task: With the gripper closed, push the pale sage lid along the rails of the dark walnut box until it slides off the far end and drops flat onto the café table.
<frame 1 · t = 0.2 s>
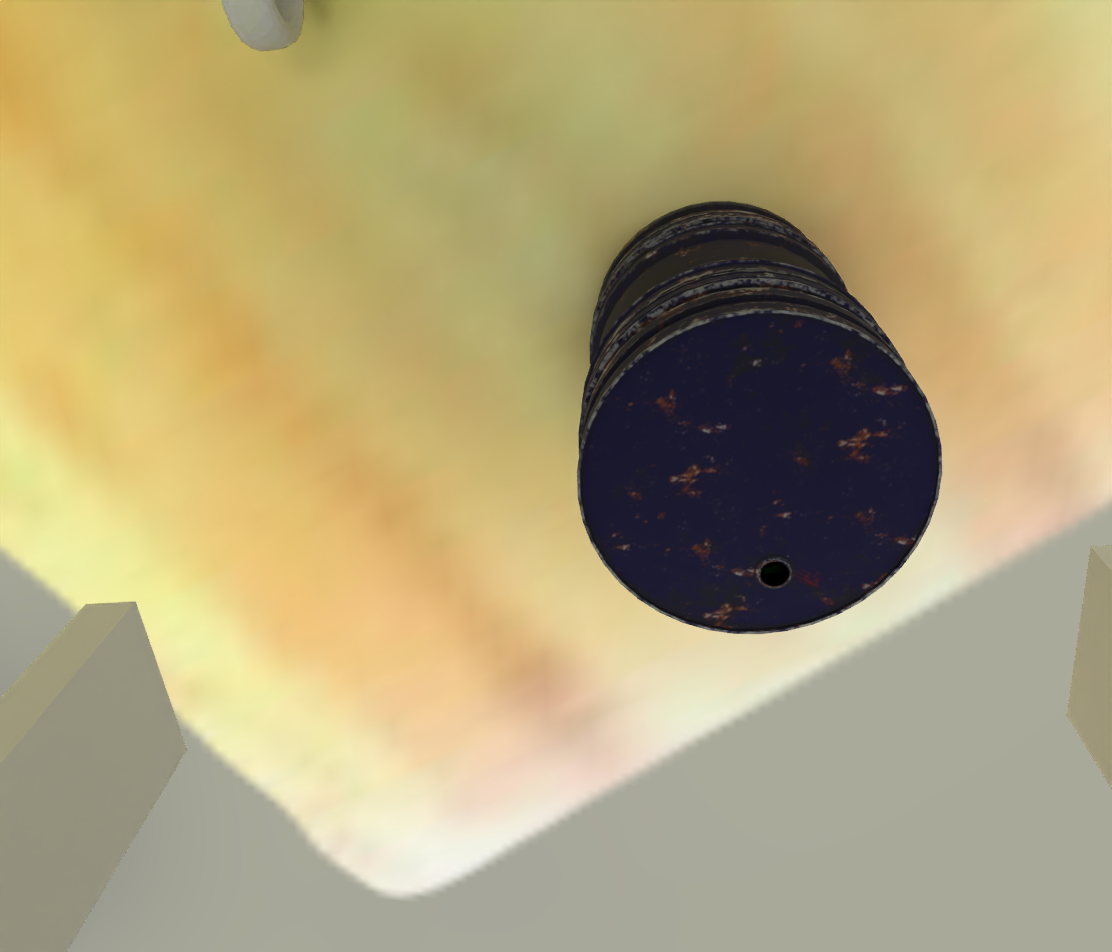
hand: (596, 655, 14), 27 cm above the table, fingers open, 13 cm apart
dark blue barrel: (714, 321, 40), on the table
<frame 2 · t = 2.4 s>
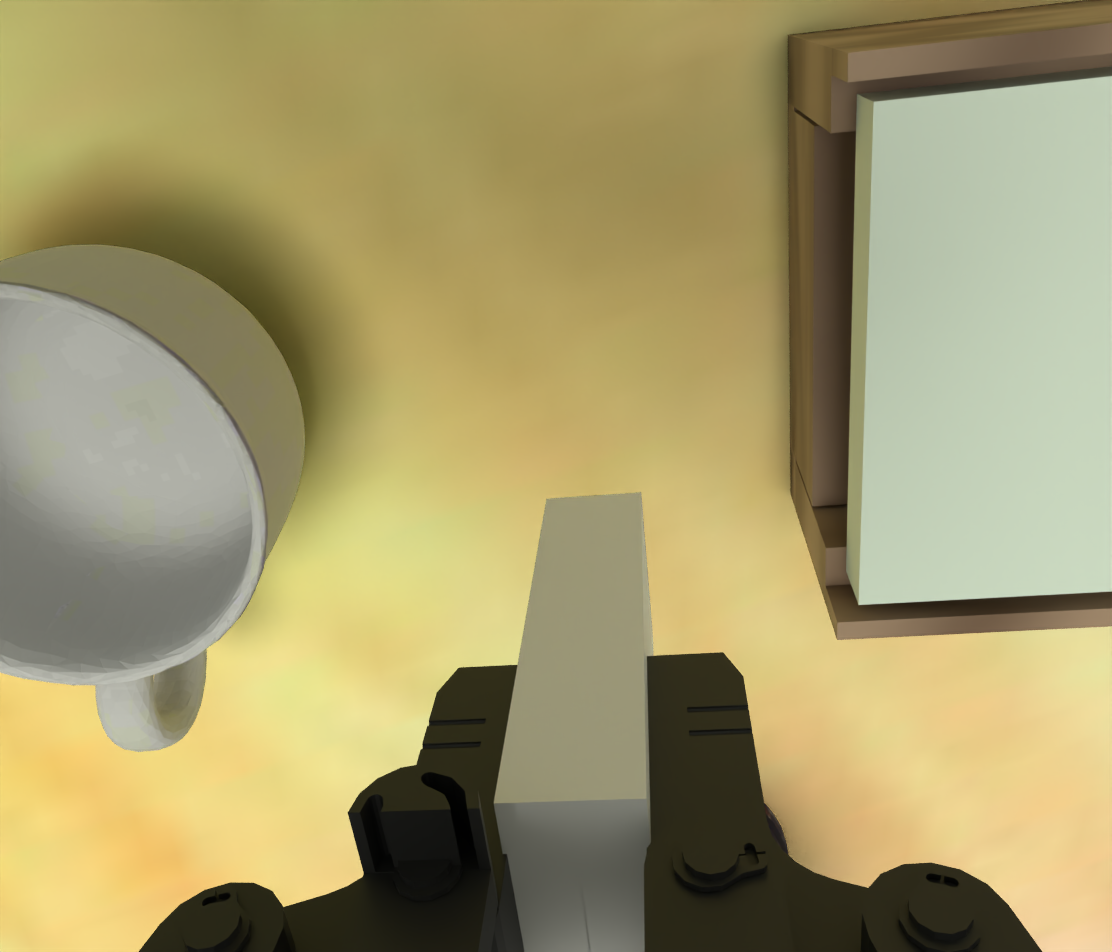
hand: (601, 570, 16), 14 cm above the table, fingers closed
dark blue barrel: (660, 854, 38), on the table
teacup: (178, 432, 31), on the table
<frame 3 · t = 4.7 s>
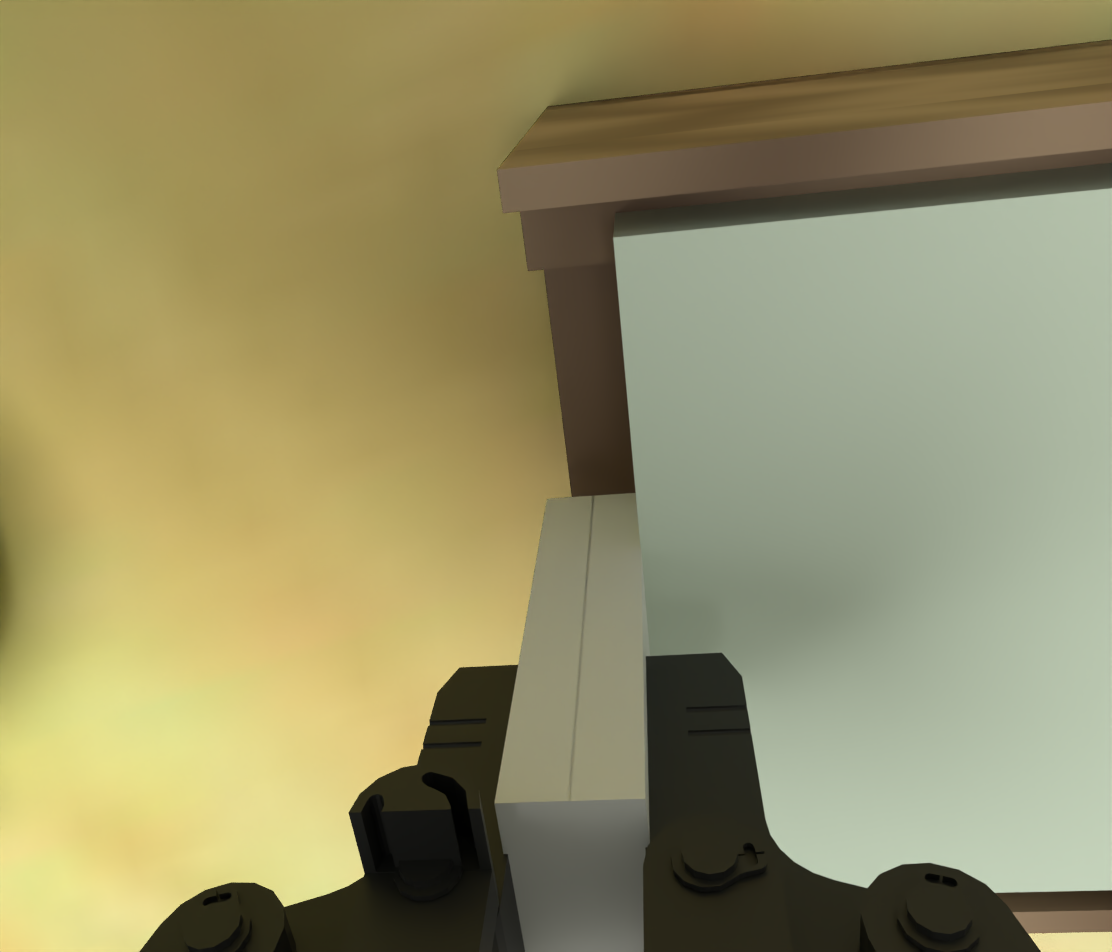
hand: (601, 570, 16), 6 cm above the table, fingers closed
box: (1021, 391, 20), on the table
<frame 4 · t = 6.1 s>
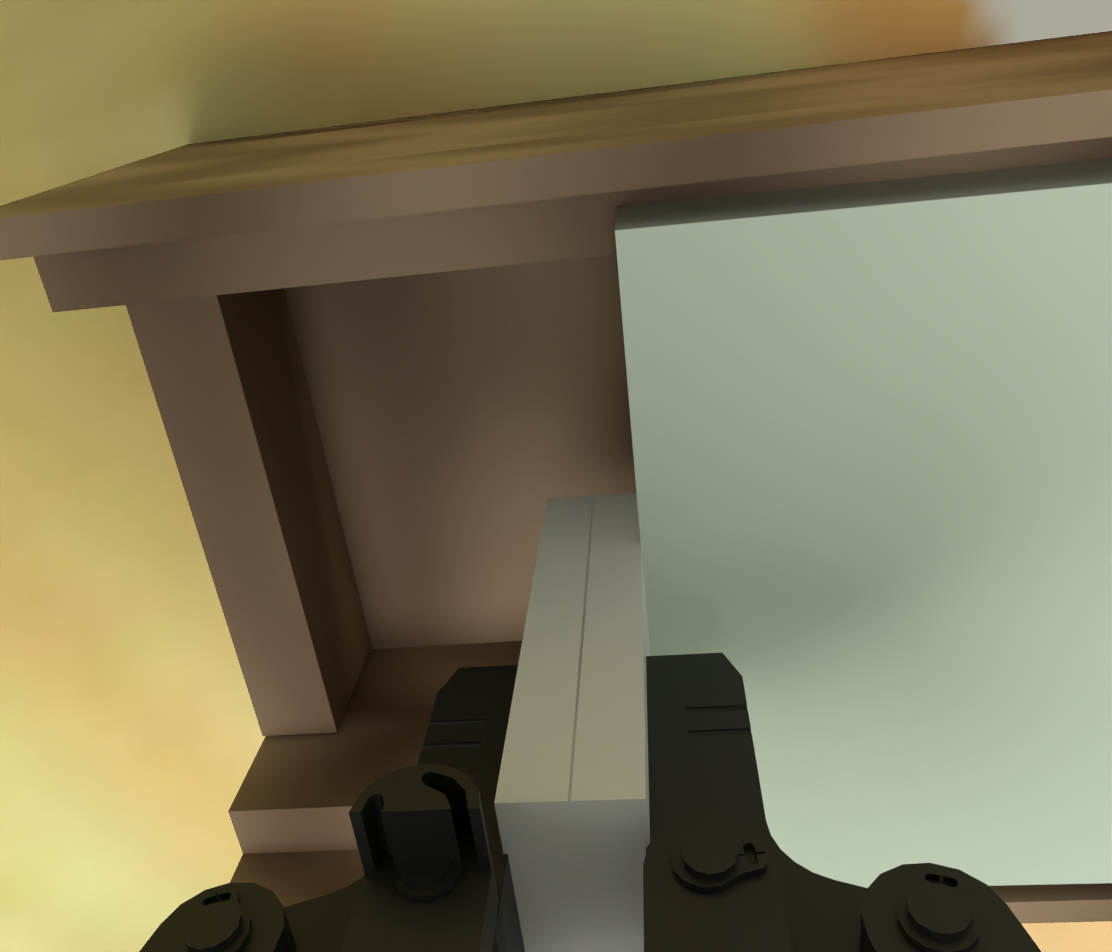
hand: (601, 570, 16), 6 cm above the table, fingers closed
box: (674, 412, 21), on the table
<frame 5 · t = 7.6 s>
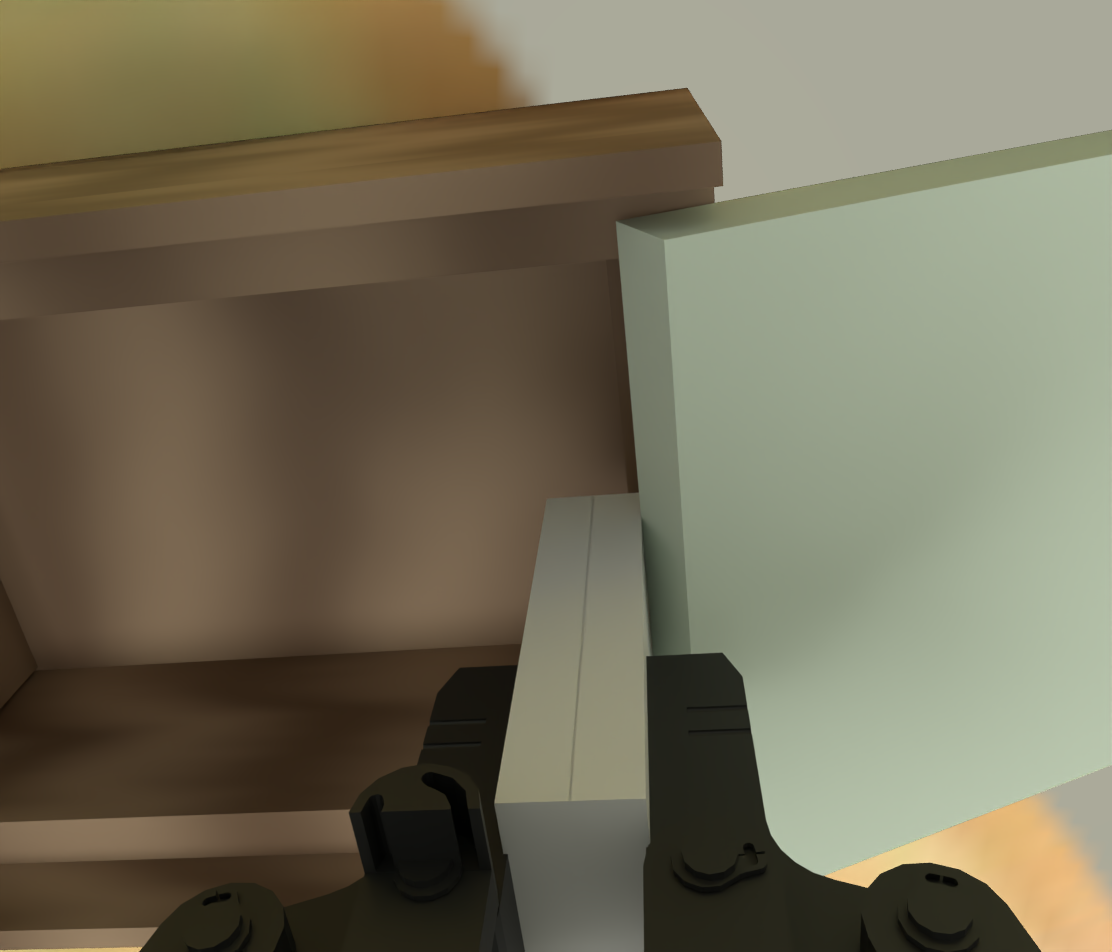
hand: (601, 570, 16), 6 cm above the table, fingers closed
box: (297, 447, 22), on the table
lid: (1092, 461, 17), point 3 cm above the table, tilted 23°
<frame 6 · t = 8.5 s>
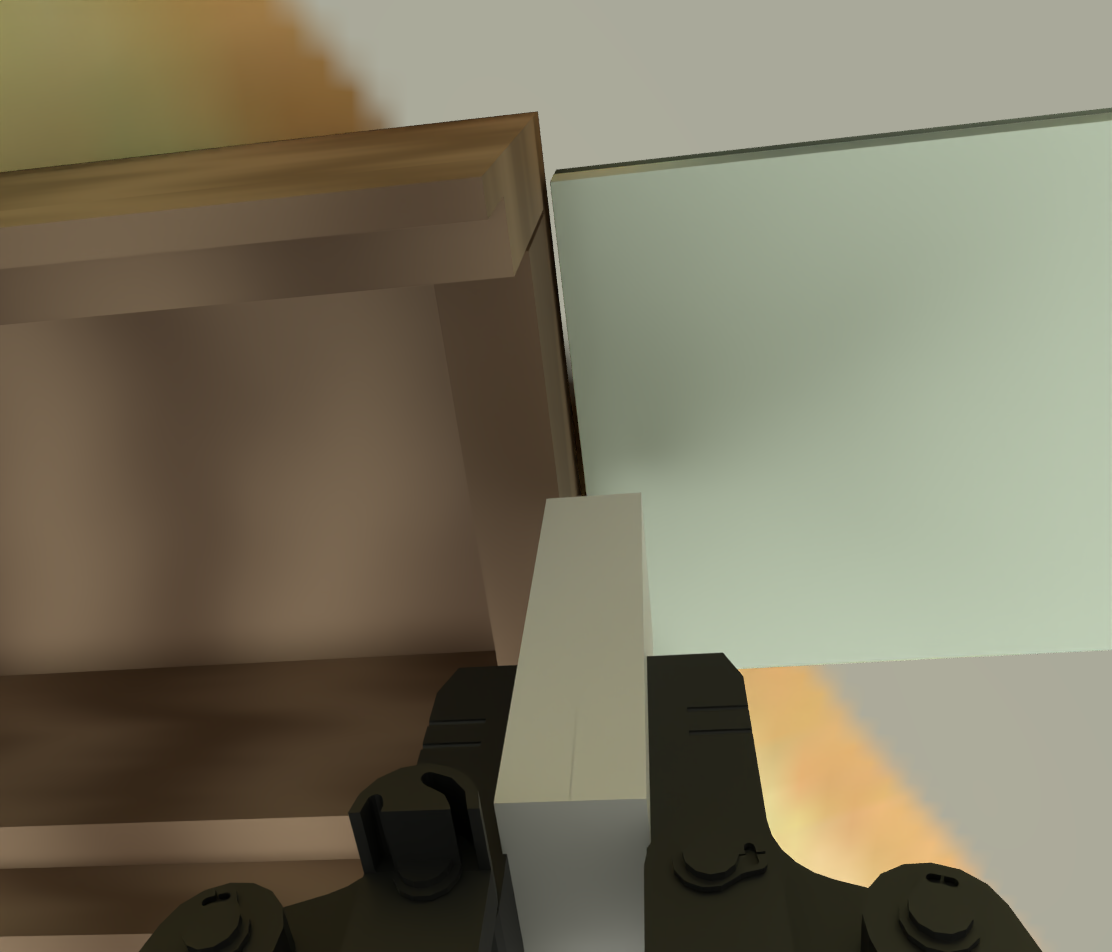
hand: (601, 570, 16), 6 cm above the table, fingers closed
box: (177, 460, 22), on the table
lid: (984, 397, 21), on the table
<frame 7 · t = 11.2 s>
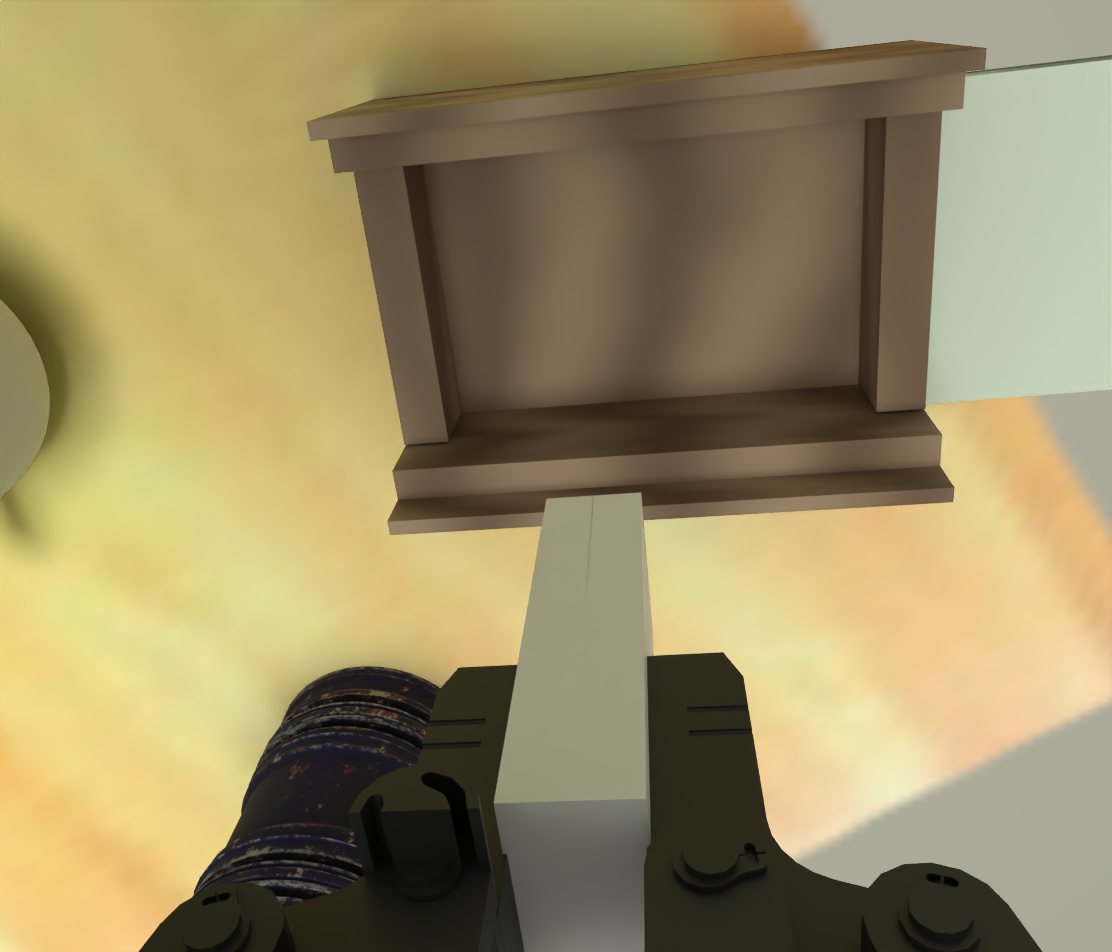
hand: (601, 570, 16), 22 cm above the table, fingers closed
box: (646, 263, 35), on the table
dark blue barrel: (383, 746, 47), on the table
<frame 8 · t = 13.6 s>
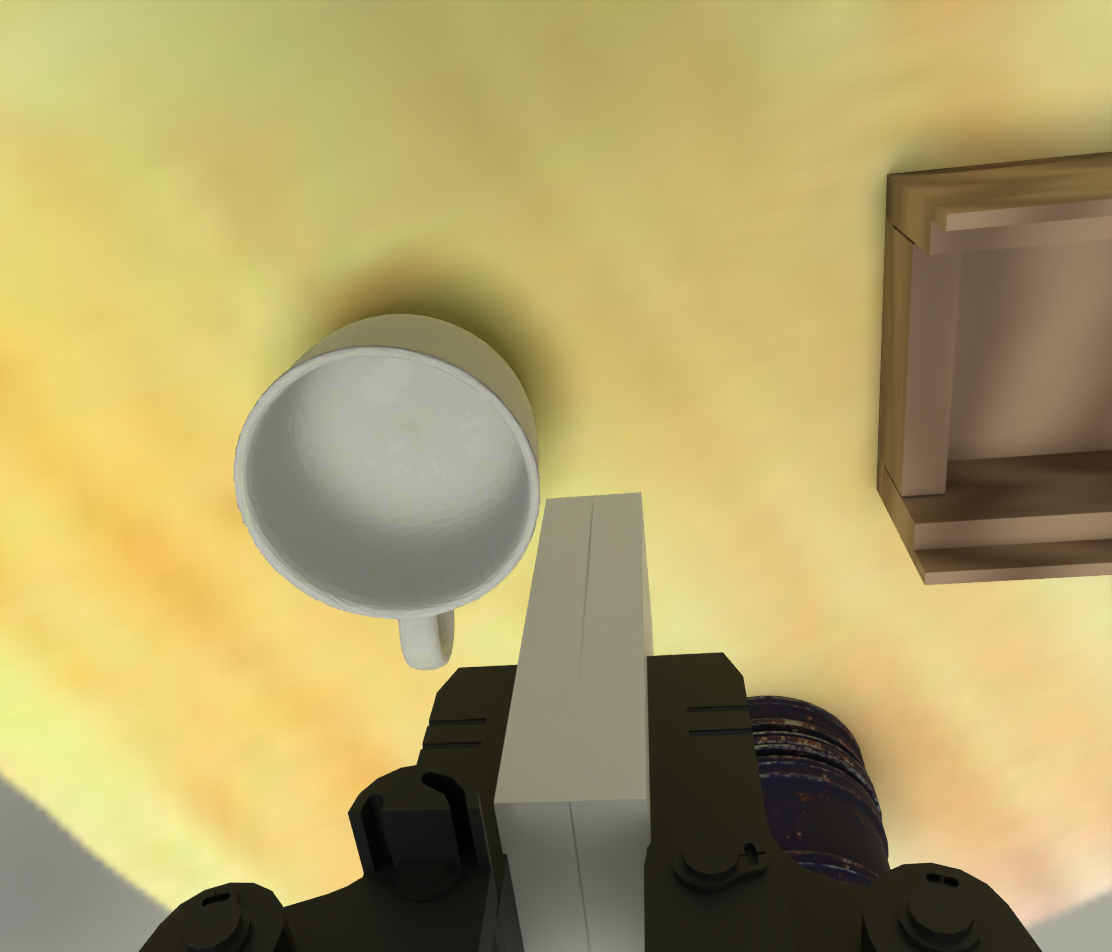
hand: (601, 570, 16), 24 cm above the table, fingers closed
dark blue barrel: (763, 770, 49), on the table
teacup: (427, 444, 42), on the table
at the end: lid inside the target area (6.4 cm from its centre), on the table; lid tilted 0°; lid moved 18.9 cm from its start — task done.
